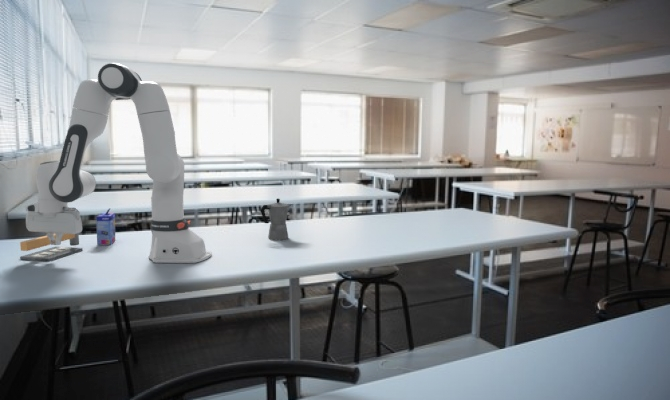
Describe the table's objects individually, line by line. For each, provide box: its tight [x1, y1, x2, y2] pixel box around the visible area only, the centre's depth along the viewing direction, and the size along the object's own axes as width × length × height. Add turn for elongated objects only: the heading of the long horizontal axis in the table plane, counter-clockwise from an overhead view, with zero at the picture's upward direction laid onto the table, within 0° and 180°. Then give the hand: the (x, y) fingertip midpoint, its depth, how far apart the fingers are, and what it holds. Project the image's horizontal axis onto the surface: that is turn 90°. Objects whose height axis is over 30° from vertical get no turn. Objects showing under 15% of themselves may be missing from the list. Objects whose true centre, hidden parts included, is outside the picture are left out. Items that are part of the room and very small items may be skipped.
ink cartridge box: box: [95, 208, 116, 246], centre depth 186 cm, size 10×6×14 cm, turn 15°
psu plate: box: [19, 246, 84, 262], centre depth 166 cm, size 12×16×1 cm
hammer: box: [19, 233, 80, 252], centre depth 166 cm, size 3×25×7 cm, turn 169°
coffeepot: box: [260, 198, 292, 241], centre depth 198 cm, size 15×9×18 cm, turn 129°
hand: (55, 244), depth 159 cm, fingers closed
